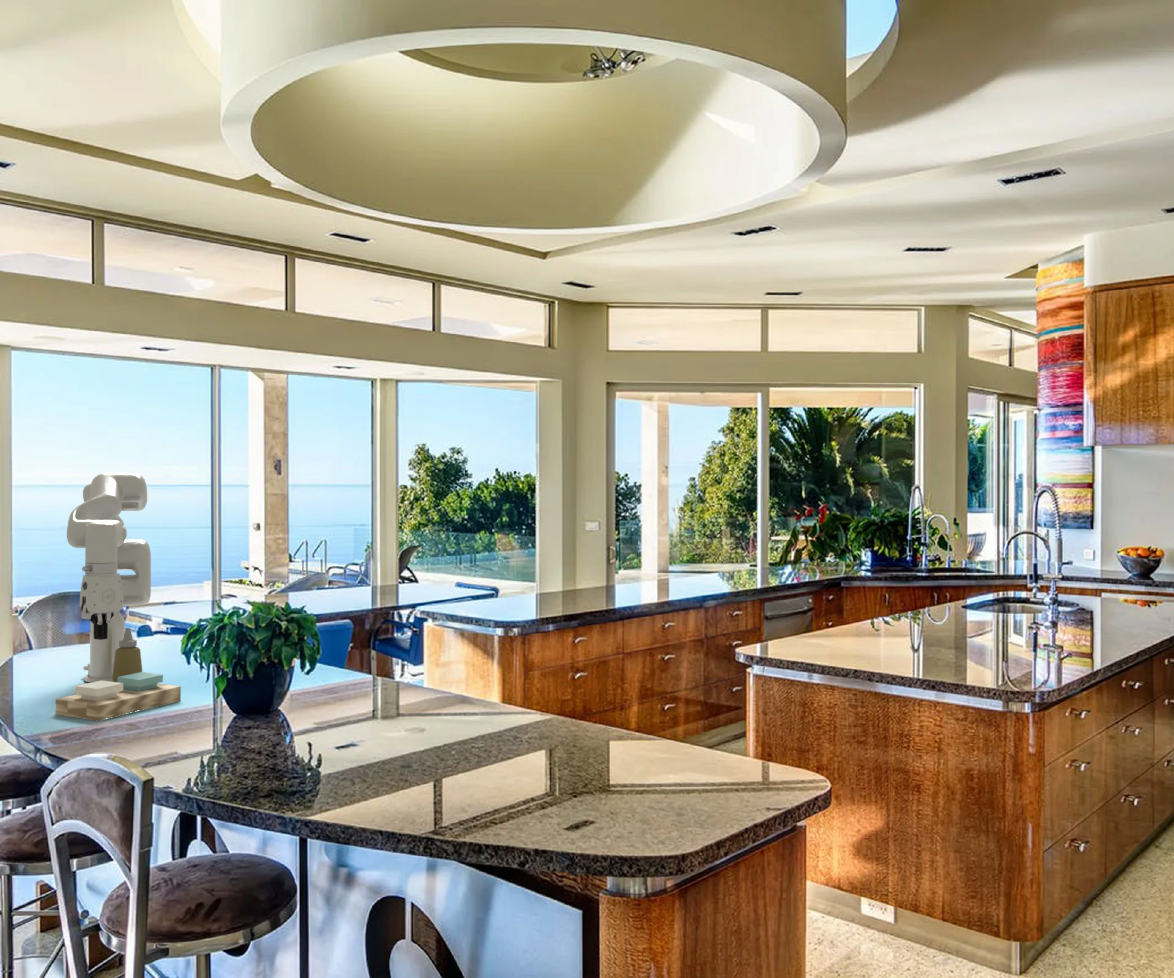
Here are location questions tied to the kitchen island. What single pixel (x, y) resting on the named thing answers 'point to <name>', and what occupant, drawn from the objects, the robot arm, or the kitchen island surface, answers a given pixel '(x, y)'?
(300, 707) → the kitchen island surface
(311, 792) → the kitchen island surface
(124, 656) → the squeeze bottle
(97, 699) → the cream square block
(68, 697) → the light wood flat block
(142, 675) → the teal key
